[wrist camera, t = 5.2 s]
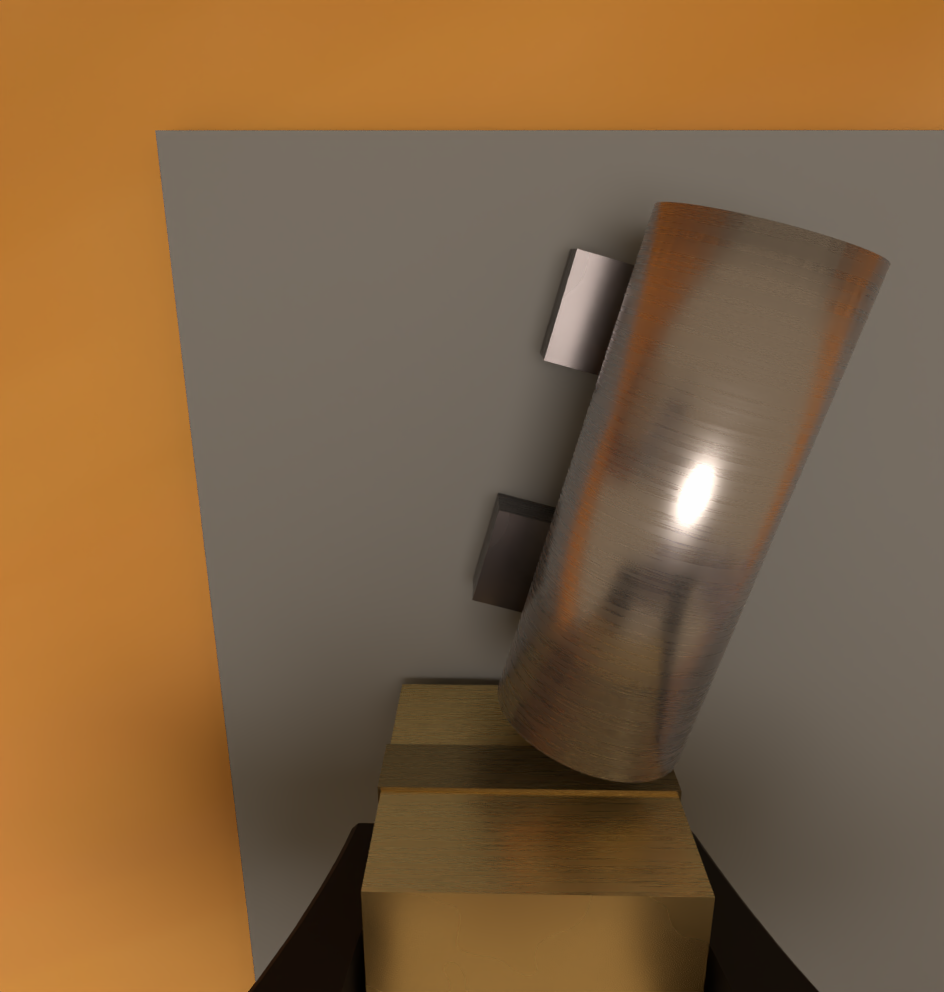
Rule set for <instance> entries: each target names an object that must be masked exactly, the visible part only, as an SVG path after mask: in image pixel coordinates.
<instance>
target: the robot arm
mask: <svg viewBox="0 0 944 992" xmlns="http://www.w3.org/2000/svg"><path fill="white" fill-rule="evenodd" d="M374 824H375V823H358V824H357V825H355V826H354V827H353V828H352V829H351V832H350V834H349V836H348V838H347V840H346V842H345V844H344V846H343V848H342V850H341V852H340V854H339V855H338V857H337V859H336V861H335V863H334V864H333V866H332V868H331V870H330V872H329V873H328V875H327V877H326V878H325V880H324V882H323V883H322V885H321V887H320V889H319V890H318V892H317V893H316V895H315V897H314V898H313V900H312V901H311V903H310V904H309V906H308V907H307V909H306V911H305V912H304V914H303V915H302V917H301V918H300V920H299V922H298V923H297V925H296V926H295V928H294V929H293V931H292V932H291V934H290V935H289V937H288V938H287V939H286V941H285V942H284V944H283V945H282V946H281V948H280V949H279V951H278V952H277V953H276V955H275V956H274V958H273V959H272V960H271V962H270V963H269V964H268V966H267V967H266V969H265V970H264V971H263V973H262V974H261V976H260V977H259V978H258V980H257V981H256V982H255V984H254V985H253V986H252V987H251V989H250V990H249V991H248V992H366V978H365V959H364V940H363V921H362V902H361V889H362V884H363V879H364V874H365V869H366V864H367V859H368V854H369V849H370V844H371V839H372V834H373V829H374ZM691 832H692V831H691ZM692 835H693V838H694V840H695V843H696V846H697V849H698V852H699V854H700V857H701V860H702V863H703V865H704V868H705V871H706V874H707V877H708V879H709V882H710V885H711V888H712V890H713V893H714V896H715V902H714V910H713V918H712V926H711V934H710V942H709V950H708V958H707V966H706V974H705V982H704V990H703V992H819V991H818V990H817V989H816V987H815V986H814V985H813V984H812V983H811V982H810V981H809V980H808V978H807V977H806V976H805V975H804V974H803V973H802V972H801V971H800V969H799V968H798V967H797V966H796V965H795V964H794V963H793V961H792V960H791V959H790V958H789V957H788V956H787V954H786V953H785V952H784V951H783V950H782V948H781V947H780V946H779V945H778V944H777V942H776V941H775V940H774V939H773V937H772V936H771V935H770V934H769V933H768V931H767V930H766V929H765V928H764V926H763V925H762V924H761V923H760V921H759V920H758V919H757V918H756V916H755V915H754V914H753V913H752V911H751V910H750V909H749V908H748V906H747V905H746V904H745V902H744V901H743V900H742V899H741V897H740V896H739V895H738V893H737V892H736V891H735V889H734V888H733V887H732V885H731V884H730V883H729V881H728V880H727V879H726V877H725V876H724V874H723V873H722V872H721V870H720V869H719V868H718V866H717V865H716V863H715V862H714V861H713V859H712V858H711V856H710V855H709V854H708V852H707V851H706V849H705V848H704V847H703V845H702V844H701V842H700V841H699V839H698V838H697V837H696V835H695V834H694V833H693V832H692Z"/></svg>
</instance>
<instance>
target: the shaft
mask: <svg viewBox="0 0 944 992" xmlns="http://www.w3.org/2000/svg"><path fill="white" fill-rule="evenodd" d="M890 265H891V263H890V261H888V260H887V259H886V258H884V257H882V256H880V255H878V254H876V253H874V252H872V251H869V250H867V249H864V248H862V247H859V246H856V245H853V244H851V243H848V242H845V241H842V240H839V239H836V238H833V237H830V236H826V235H823V234H820V233H816V232H813V231H809V230H806V229H802V228H799V227H795V226H791V225H788V224H784V223H780V222H776V221H772V220H768V219H764V218H760V217H755V216H751V215H747V214H742V213H738V212H733V211H728V210H723V209H718V208H712V207H706V206H701V205H694V204H687V203H678V202H658V203H655V204H654V207H653V210H652V213H651V216H650V220H649V223H648V226H647V229H646V232H645V235H644V238H643V241H642V244H641V247H640V250H639V253H638V257H637V260H636V263H635V265H632V264H628V263H625V262H622V261H618V260H615V259H611V258H608V257H604V256H601V255H597V254H594V253H590V252H587V251H583V250H580V249H570V252H569V255H568V259H567V262H566V265H565V269H564V272H563V276H562V279H561V282H560V286H559V289H558V292H557V296H556V299H555V303H554V306H553V309H552V313H551V316H550V319H549V323H548V326H547V330H546V333H545V336H544V340H543V343H542V346H541V350H540V354H541V356H542V358H543V360H544V361H548V362H551V363H555V364H559V365H562V366H566V367H570V368H573V369H577V370H580V371H584V372H588V373H591V374H595V375H598V376H599V377H598V380H597V383H596V386H595V389H594V392H593V395H592V398H591V402H590V405H589V408H588V411H587V414H586V417H585V420H584V423H583V426H582V429H581V432H580V435H579V439H578V442H577V445H576V448H575V451H574V454H573V457H572V460H571V463H570V466H569V469H568V472H567V476H566V479H565V482H564V485H563V488H562V491H561V494H560V497H559V500H558V503H557V506H556V508H555V507H551V506H548V505H544V504H540V503H536V502H532V501H529V500H525V499H521V498H517V497H514V496H510V495H506V494H502V493H498V495H497V498H496V502H495V505H494V508H493V512H492V515H491V519H490V522H489V525H488V529H487V532H486V535H485V539H484V542H483V546H482V549H481V552H480V556H479V559H478V562H477V566H476V569H475V573H474V576H473V594H472V600H474V601H478V602H482V603H486V604H490V605H494V606H498V607H502V608H505V609H509V610H513V611H517V612H521V613H522V614H521V617H520V621H519V624H518V627H517V630H516V633H515V636H514V639H513V642H512V645H511V648H510V651H509V654H508V658H507V661H506V664H505V667H504V670H503V673H502V676H501V679H500V682H499V685H498V692H497V694H498V701H499V704H500V707H501V710H502V711H503V713H504V715H505V717H506V718H507V720H508V721H509V723H510V724H511V725H512V727H513V728H514V729H515V730H516V731H517V732H518V733H519V734H520V735H521V736H522V737H523V738H524V739H525V740H526V741H527V742H529V743H530V744H531V745H532V746H534V747H535V748H536V749H538V750H539V751H541V752H542V753H544V754H545V755H547V756H548V757H550V758H552V759H553V760H555V761H557V762H559V763H561V764H563V765H565V766H567V767H569V768H571V769H574V770H576V771H579V772H581V773H584V774H587V775H590V776H594V777H597V778H601V779H605V780H610V781H616V782H626V783H640V782H649V781H653V780H656V779H659V778H662V777H664V776H666V775H667V774H669V773H670V772H671V771H672V770H673V769H674V768H675V766H676V765H677V763H678V760H679V758H680V756H681V753H682V751H683V749H684V746H685V744H686V742H687V739H688V737H689V735H690V732H691V730H692V728H693V725H694V723H695V721H696V718H697V716H698V714H699V711H700V709H701V707H702V704H703V702H704V700H705V697H706V695H707V693H708V690H709V688H710V686H711V683H712V681H713V679H714V676H715V674H716V672H717V669H718V667H719V665H720V662H721V660H722V658H723V655H724V653H725V651H726V648H727V646H728V644H729V641H730V639H731V637H732V634H733V632H734V629H735V627H736V625H737V622H738V620H739V618H740V615H741V613H742V611H743V608H744V606H745V604H746V601H747V599H748V597H749V594H750V592H751V590H752V587H753V585H754V583H755V580H756V578H757V576H758V573H759V571H760V569H761V566H762V564H763V562H764V559H765V557H766V555H767V552H768V550H769V548H770V545H771V543H772V541H773V538H774V536H775V534H776V531H777V529H778V527H779V524H780V522H781V520H782V517H783V515H784V513H785V510H786V508H787V506H788V503H789V501H790V499H791V496H792V494H793V491H794V489H795V487H796V484H797V482H798V480H799V477H800V475H801V473H802V470H803V468H804V466H805V463H806V461H807V459H808V456H809V454H810V452H811V449H812V447H813V445H814V442H815V440H816V438H817V435H818V433H819V431H820V428H821V426H822V424H823V421H824V419H825V417H826V414H827V412H828V410H829V407H830V405H831V403H832V400H833V398H834V396H835V393H836V391H837V389H838V386H839V384H840V382H841V379H842V377H843V375H844V372H845V370H846V368H847V365H848V363H849V361H850V358H851V356H852V354H853V351H854V349H855V346H856V344H857V342H858V339H859V337H860V335H861V332H862V330H863V328H864V325H865V323H866V321H867V318H868V316H869V314H870V311H871V309H872V307H873V304H874V302H875V300H876V297H877V295H878V293H879V290H880V288H881V286H882V283H883V281H884V279H885V276H886V274H887V272H888V269H889V267H890Z"/></svg>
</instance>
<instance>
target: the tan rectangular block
mask: <svg viewBox="0 0 944 992" xmlns="http://www.w3.org/2000/svg"><path fill="white" fill-rule="evenodd" d="M497 692H498V685H434V684H402V688H401V693H400V698H399V703H398V708H397V713H396V718H395V723H394V728H393V733H392V738H391V743H390V744H386V749H385V754H384V759H383V763H382V768H381V773H380V778H379V783H378V809H377V814H376V819H375V824H374V829H373V834H372V839H371V844H370V849H369V854H368V859H367V864H366V869H365V874H364V879H363V884H362V889H361V902H362V921H363V940H364V959H365V978H366V992H703V990H704V982H705V974H706V966H707V958H708V950H709V942H710V934H711V926H712V918H713V910H714V902H715V896H714V893H713V890H712V888H711V885H710V882H709V879H708V877H707V874H706V871H705V868H704V865H703V863H702V860H701V857H700V854H699V852H698V849H697V846H696V843H695V840H694V838H693V835H692V832H691V829H690V827H689V824H688V821H687V818H686V815H685V813H684V810H683V807H682V804H681V794H682V791H681V788H680V785H679V783H678V780H677V777H676V775H675V772H674V769H673V770H672V771H671V772H670V773H669V774H667V775H666V776H664V777H662V778H659V779H656V780H653V781H649V782H640V783H626V782H616V781H610V780H605V779H601V778H597V777H594V776H590V775H587V774H584V773H581V772H579V771H576V770H574V769H571V768H569V767H567V766H565V765H563V764H561V763H559V762H557V761H555V760H553V759H552V758H550V757H548V756H547V755H545V754H544V753H542V752H541V751H539V750H538V749H536V748H535V747H534V746H532V745H531V744H530V743H529V742H527V741H526V740H525V739H524V738H523V737H522V736H521V735H520V734H519V733H518V732H517V731H516V730H515V729H514V728H513V727H512V725H511V724H510V723H509V721H508V720H507V718H506V717H505V715H504V713H503V711H502V710H501V707H500V704H499V701H498V694H497Z"/></svg>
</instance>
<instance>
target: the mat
mask: <svg viewBox="0 0 944 992" xmlns="http://www.w3.org/2000/svg"><path fill="white" fill-rule="evenodd" d="M156 139H157V148H158V156H159V165H160V173H161V182H162V190H163V199H164V207H165V216H166V224H167V233H168V241H169V250H170V258H171V267H172V275H173V284H174V292H175V301H176V309H177V318H178V326H179V335H180V343H181V352H182V360H183V369H184V377H185V386H186V394H187V403H188V411H189V420H190V428H191V437H192V445H193V454H194V462H195V471H196V479H197V488H198V496H199V505H200V513H201V522H202V530H203V539H204V547H205V556H206V564H207V573H208V581H209V590H210V598H211V607H212V615H213V624H214V632H215V641H216V649H217V658H218V666H219V675H220V683H221V692H222V700H223V709H224V717H225V726H226V734H227V743H228V751H229V760H230V768H231V777H232V785H233V794H234V802H235V811H236V820H237V828H238V837H239V845H240V854H241V862H242V871H243V879H244V888H245V896H246V905H247V913H248V922H249V930H250V939H251V947H252V956H253V964H254V973H255V981H257V980H258V978H259V977H260V976H261V974H262V973H263V971H264V970H265V969H266V967H267V966H268V964H269V963H270V962H271V960H272V959H273V958H274V956H275V955H276V953H277V952H278V951H279V949H280V948H281V946H282V945H283V944H284V942H285V941H286V939H287V938H288V937H289V935H290V934H291V932H292V931H293V929H294V928H295V926H296V925H297V923H298V922H299V920H300V918H301V917H302V915H303V914H304V912H305V911H306V909H307V907H308V906H309V904H310V903H311V901H312V900H313V898H314V897H315V895H316V893H317V892H318V890H319V889H320V887H321V885H322V883H323V882H324V880H325V878H326V877H327V875H328V873H329V872H330V870H331V868H332V866H333V864H334V863H335V861H336V859H337V857H338V855H339V854H340V852H341V850H342V848H343V846H344V844H345V842H346V840H347V838H348V836H349V834H350V832H351V829H352V828H353V827H354V826H355V825H357V824H358V823H375V819H376V814H377V809H378V783H379V778H380V773H381V768H382V763H383V759H384V754H385V749H386V744H390V743H391V738H392V733H393V728H394V723H395V718H396V713H397V708H398V703H399V698H400V693H401V688H402V684H434V685H499V682H500V679H501V676H502V673H503V670H504V667H505V664H506V661H507V658H508V654H509V651H510V648H511V645H512V642H513V639H514V636H515V633H516V630H517V627H518V624H519V621H520V617H521V614H522V613H521V612H517V611H513V610H509V609H505V608H502V607H498V606H494V605H490V604H486V603H482V602H478V601H474V600H472V594H473V576H474V573H475V569H476V566H477V562H478V559H479V556H480V552H481V549H482V546H483V542H484V539H485V535H486V532H487V529H488V525H489V522H490V519H491V515H492V512H493V508H494V505H495V502H496V498H497V495H498V493H502V494H506V495H510V496H514V497H517V498H521V499H525V500H529V501H532V502H536V503H540V504H544V505H548V506H551V507H555V508H556V506H557V503H558V500H559V497H560V494H561V491H562V488H563V485H564V482H565V479H566V476H567V472H568V469H569V466H570V463H571V460H572V457H573V454H574V451H575V448H576V445H577V442H578V439H579V435H580V432H581V429H582V426H583V423H584V420H585V417H586V414H587V411H588V408H589V405H590V402H591V398H592V395H593V392H594V389H595V386H596V383H597V380H598V377H599V376H598V375H595V374H591V373H588V372H584V371H580V370H577V369H573V368H570V367H566V366H562V365H559V364H555V363H551V362H548V361H544V360H543V358H542V356H541V354H540V350H541V346H542V343H543V340H544V336H545V333H546V330H547V326H548V323H549V319H550V316H551V313H552V309H553V306H554V303H555V299H556V296H557V292H558V289H559V286H560V282H561V279H562V276H563V272H564V269H565V265H566V262H567V259H568V255H569V252H570V249H580V250H583V251H587V252H590V253H594V254H597V255H601V256H604V257H608V258H611V259H615V260H618V261H622V262H625V263H628V264H632V265H635V263H636V260H637V257H638V253H639V250H640V247H641V244H642V241H643V238H644V235H645V232H646V229H647V226H648V223H649V220H650V216H651V213H652V210H653V207H654V204H655V203H658V202H678V203H687V204H694V205H701V206H706V207H712V208H718V209H723V210H728V211H733V212H738V213H742V214H747V215H751V216H755V217H760V218H764V219H768V220H772V221H776V222H780V223H784V224H788V225H791V226H795V227H799V228H802V229H806V230H809V231H813V232H816V233H820V234H823V235H826V236H830V237H833V238H836V239H839V240H842V241H845V242H848V243H851V244H853V245H856V246H859V247H862V248H864V249H867V250H869V251H872V252H874V253H876V254H878V255H880V256H882V257H884V258H886V259H887V260H888V261H890V263H891V265H890V267H889V269H888V272H887V274H886V276H885V279H884V281H883V283H882V286H881V288H880V290H879V293H878V295H877V297H876V300H875V302H874V304H873V307H872V309H871V311H870V314H869V316H868V318H867V321H866V323H865V325H864V328H863V330H862V332H861V335H860V337H859V339H858V342H857V344H856V346H855V349H854V351H853V354H852V356H851V358H850V361H849V363H848V365H847V368H846V370H845V372H844V375H843V377H842V379H841V382H840V384H839V386H838V389H837V391H836V393H835V396H834V398H833V400H832V403H831V405H830V407H829V410H828V412H827V414H826V417H825V419H824V421H823V424H822V426H821V428H820V431H819V433H818V435H817V438H816V440H815V442H814V445H813V447H812V449H811V452H810V454H809V456H808V459H807V461H806V463H805V466H804V468H803V470H802V473H801V475H800V477H799V480H798V482H797V484H796V487H795V489H794V491H793V494H792V496H791V499H790V501H789V503H788V506H787V508H786V510H785V513H784V515H783V517H782V520H781V522H780V524H779V527H778V529H777V531H776V534H775V536H774V538H773V541H772V543H771V545H770V548H769V550H768V552H767V555H766V557H765V559H764V562H763V564H762V566H761V569H760V571H759V573H758V576H757V578H756V580H755V583H754V585H753V587H752V590H751V592H750V594H749V597H748V599H747V601H746V604H745V606H744V608H743V611H742V613H741V615H740V618H739V620H738V622H737V625H736V627H735V629H734V632H733V634H732V637H731V639H730V641H729V644H728V646H727V648H726V651H725V653H724V655H723V658H722V660H721V662H720V665H719V667H718V669H717V672H716V674H715V676H714V679H713V681H712V683H711V686H710V688H709V690H708V693H707V695H706V697H705V700H704V702H703V704H702V707H701V709H700V711H699V714H698V716H697V718H696V721H695V723H694V725H693V728H692V730H691V732H690V735H689V737H688V739H687V742H686V744H685V746H684V749H683V751H682V753H681V756H680V758H679V760H678V763H677V765H676V766H675V768H674V772H675V775H676V777H677V780H678V783H679V785H680V788H681V791H682V794H681V804H682V807H683V810H684V813H685V815H686V818H687V821H688V824H689V827H690V829H691V831H692V832H693V833H694V834H695V835H696V837H697V838H698V839H699V841H700V842H701V844H702V845H703V847H704V848H705V849H706V851H707V852H708V854H709V855H710V856H711V858H712V859H713V861H714V862H715V863H716V865H717V866H718V868H719V869H720V870H721V872H722V873H723V874H724V876H725V877H726V879H727V880H728V881H729V883H730V884H731V885H732V887H733V888H734V889H735V891H736V892H737V893H738V895H739V896H740V897H741V899H742V900H743V901H744V902H745V904H746V905H747V906H748V908H749V909H750V910H751V911H752V913H753V914H754V915H755V916H756V918H757V919H758V920H759V921H760V923H761V924H762V925H763V926H764V928H765V929H766V930H767V931H768V933H769V934H770V935H771V936H772V937H773V939H774V940H775V941H776V942H777V944H778V945H779V946H780V947H781V948H782V950H783V951H784V952H785V953H786V954H787V956H788V957H789V958H790V959H791V960H792V961H793V963H794V964H795V965H796V966H797V967H798V968H799V969H800V971H801V972H802V973H803V974H804V975H805V976H806V977H807V978H808V980H809V981H810V982H811V983H812V984H813V985H814V986H815V987H816V989H817V990H818V991H819V992H944V130H537V131H156Z"/></svg>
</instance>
